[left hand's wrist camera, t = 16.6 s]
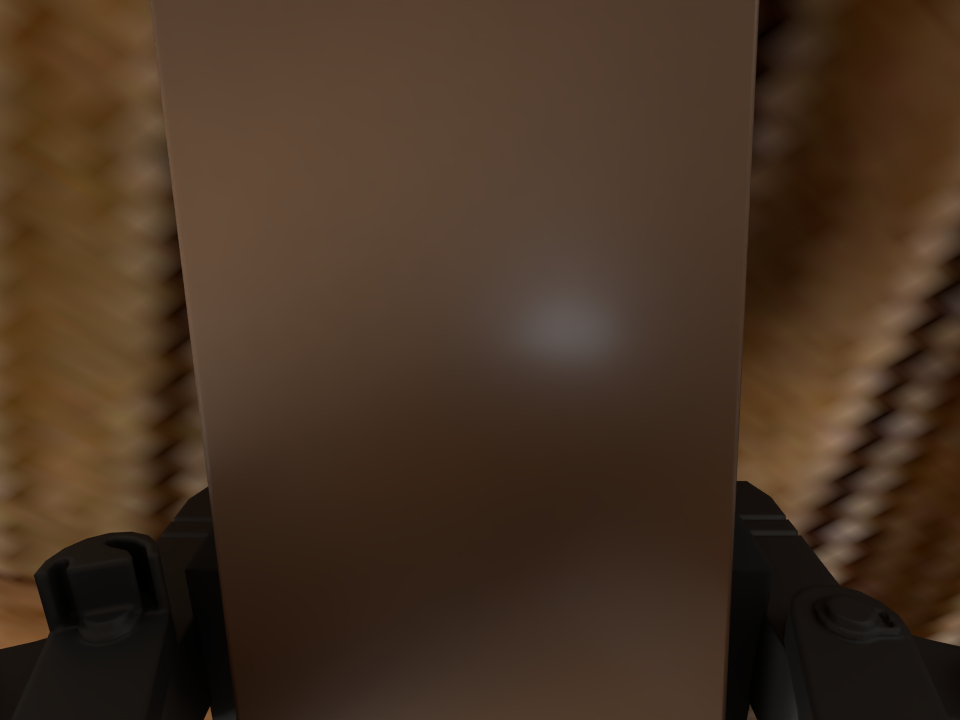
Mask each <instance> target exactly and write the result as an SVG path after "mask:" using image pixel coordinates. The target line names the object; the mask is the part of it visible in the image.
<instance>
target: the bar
mask: <svg viewBox="0 0 960 720" xmlns="http://www.w3.org/2000/svg"><path fill="white" fill-rule="evenodd" d="M150 7H151V15H152V23H153V31H154V40H155V48H156V56H157V65H158V73H159V81H160V90H161V98H162V106H163V114H164V123H165V131H166V139H167V148H168V156H169V164H170V172H171V181H172V189H173V197H174V206H175V214H176V222H177V231H178V239H179V247H180V255H181V264H182V272H183V280H184V289H185V297H186V305H187V314H188V322H189V330H190V338H191V347H192V355H193V363H194V372H195V380H196V388H197V396H198V405H199V413H200V421H201V430H202V438H203V446H204V455H205V463H206V471H207V479H208V488H209V496H210V504H211V513H212V521H213V529H214V537H215V546H216V554H217V562H218V571H219V579H220V587H221V596H222V604H223V612H224V620H225V629H226V637H227V645H228V654H229V662H230V670H231V679H232V687H233V695H234V703H235V712H236V720H725V714H726V693H727V672H728V650H729V629H730V608H731V587H732V566H733V545H734V524H735V503H736V482H737V461H738V440H739V419H740V398H741V376H742V355H743V334H744V313H745V292H746V271H747V250H748V229H749V208H750V187H751V166H752V145H753V123H754V102H755V81H756V60H757V39H758V18H759V0H150Z"/></svg>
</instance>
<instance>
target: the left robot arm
mask: <svg viewBox="0 0 960 720" xmlns="http://www.w3.org/2000/svg"><path fill="white" fill-rule="evenodd" d="M34 577H35V581H36V584H37V588H38V591H39V595H40V598H41V602H42V605H43V609H44V612H45V616H46V619H47V623H48V626H49V630H50V633H49V635H48V638H45V639H42V640H39V641H35V642H31V643H27V644H22V645H17V646H13V647H8V648H4V649H0V720H204V718H205V716H206V714H207V711H208V709H209V707H210V708H211V713H212V718H213V720H236V712H235V703H234V695H233V687H232V679H231V670H230V662H229V654H228V645H227V637H226V629H225V620H224V612H223V604H222V596H221V587H220V579H219V571H218V562H217V554H216V546H215V537H214V529H213V521H212V513H211V504H210V496H209V488H208V487H207V488H205V489H204V490H202V491H201V492H199V493H198V494H196V495H195V496H193V497H192V498H190V499H189V500H188V501H187V502H186V504H185V505H184V506H183V507H182V509H181V510H180V511H179V513H178V514H177V515H176V517H175V518H174V522H171V523H170V524H169V526H168V527H167V528H166V529H165V531H164V532H163V533H162V538H158V540H157V541H156V542H155V541H154V540H153V539H152V538H151V537H149V536H148V535H144V534H140V533H135V532H117V533H108V534H104V535H100V536H96V537H91V538H87V539H85V540H83V541H80V542H78V543H76V544H73V545H71V546H69V547H66V548H64V549H63V550H61V551H60V552H58V553H57V554H55V555H54V556H52V557H51V558H49V559H48V560H46V561H45V562H44V564H43V565H42V566H41V567H40V568H39V570H38V571H37V572H36V573H35V574H34ZM749 705H751V707H752V709H753V711H754V714H755V716H756V718H757V720H960V646H955V645H951V644H946V643H942V642H937V641H933V640H928V639H924V638H921V637H917V636H914V635H912V634H911V632H910V630H909V629H908V628H907V626H906V625H905V623H904V622H903V621H902V619H901V618H900V617H899V615H897V614H896V613H895V612H893V611H892V610H891V609H890V608H888V607H887V606H886V605H884V604H883V603H882V602H880V601H878V600H876V599H874V598H872V597H870V596H868V595H866V594H864V593H862V592H860V591H856V590H852V589H849V588H845V587H842V586H840V585H839V584H838V583H837V581H836V580H835V579H834V577H833V576H832V575H831V574H830V572H829V571H828V570H827V568H826V567H825V566H824V565H823V563H822V562H821V561H820V559H819V558H818V557H817V556H816V554H815V553H814V552H813V550H812V549H811V548H810V547H809V545H808V544H807V543H806V541H805V540H804V539H803V538H802V536H798V531H797V530H796V529H795V527H794V526H793V525H792V523H791V522H790V521H789V520H786V516H785V514H784V513H783V512H782V511H781V509H780V508H779V507H778V506H777V504H776V503H775V502H774V500H773V499H772V498H771V497H770V496H768V495H767V494H765V493H764V492H762V491H761V490H759V489H758V488H756V487H755V486H753V485H752V484H750V483H749V482H747V481H737V482H736V503H735V524H734V545H733V566H732V587H731V608H730V629H729V650H728V672H727V693H726V714H725V720H747V716H748V710H749Z"/></svg>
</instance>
